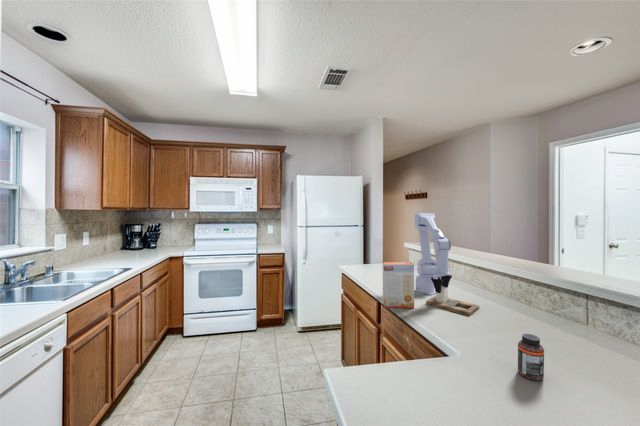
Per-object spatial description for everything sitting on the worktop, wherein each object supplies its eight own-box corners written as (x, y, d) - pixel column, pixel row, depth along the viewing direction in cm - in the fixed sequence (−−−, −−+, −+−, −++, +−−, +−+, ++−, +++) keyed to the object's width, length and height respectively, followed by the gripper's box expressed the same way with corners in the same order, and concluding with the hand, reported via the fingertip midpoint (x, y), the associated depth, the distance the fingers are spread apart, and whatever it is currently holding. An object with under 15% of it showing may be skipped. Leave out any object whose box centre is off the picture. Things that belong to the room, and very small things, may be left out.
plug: (435, 303, 136) (435, 287, 135) (439, 301, 138) (439, 285, 138) (444, 305, 133) (444, 289, 132) (447, 303, 135) (447, 287, 135)
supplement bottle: (518, 366, 83) (518, 329, 83) (543, 374, 79) (544, 335, 79) (516, 376, 79) (517, 337, 78) (543, 385, 75) (544, 343, 74)
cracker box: (411, 304, 135) (411, 261, 135) (414, 308, 129) (414, 264, 129) (382, 303, 137) (382, 261, 136) (384, 307, 131) (384, 264, 130)
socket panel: (425, 304, 135) (425, 301, 135) (436, 298, 143) (436, 295, 143) (469, 316, 121) (469, 312, 120) (479, 308, 129) (479, 305, 129)
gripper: (443, 267, 127) (443, 296, 128) (456, 262, 137) (455, 289, 137) (428, 264, 132) (428, 292, 133) (442, 260, 142) (441, 286, 143)
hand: (441, 290), depth 135 cm, fingers open, 7 cm apart
